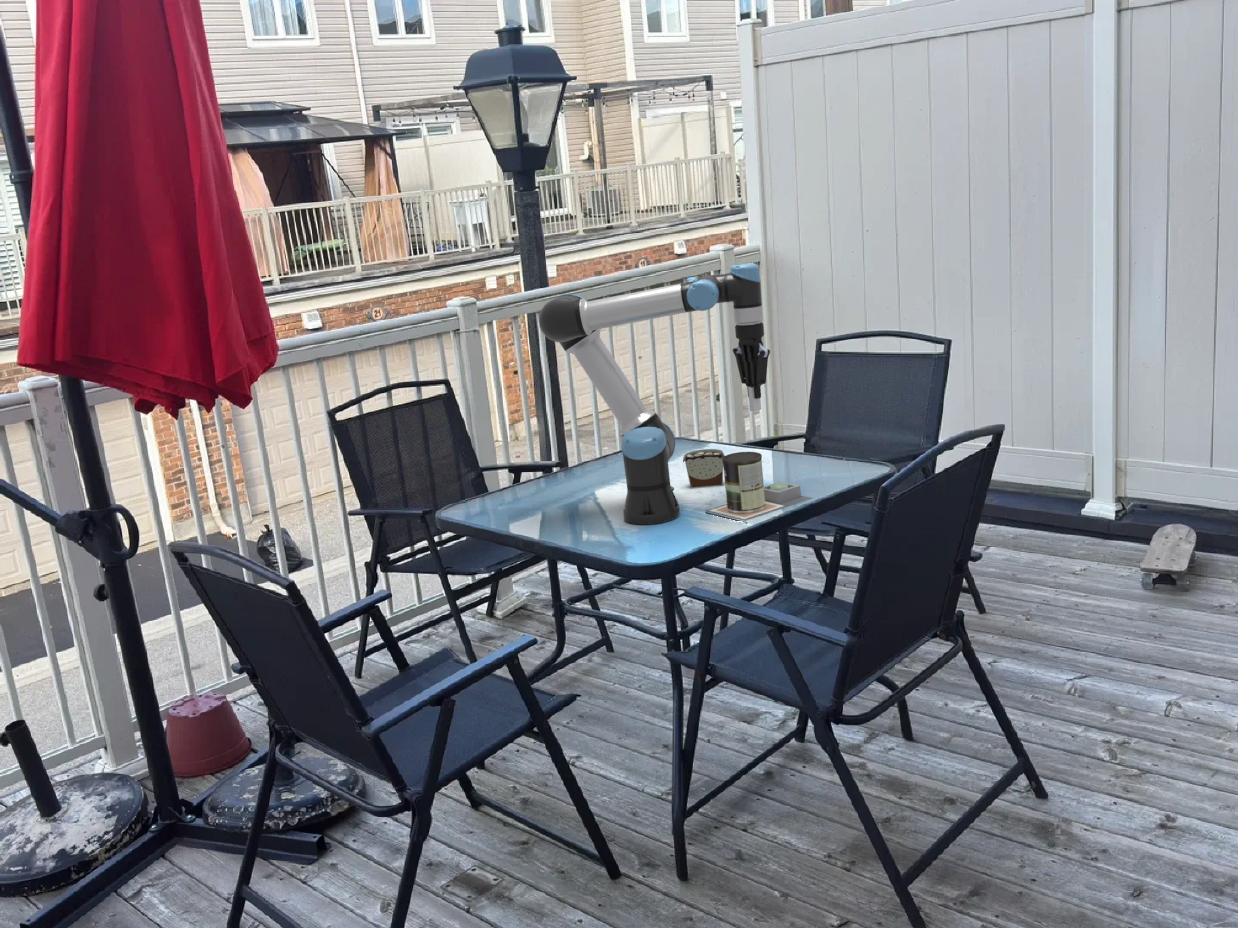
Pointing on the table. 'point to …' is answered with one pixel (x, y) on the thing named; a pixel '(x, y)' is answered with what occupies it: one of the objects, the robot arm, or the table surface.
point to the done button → (778, 486)
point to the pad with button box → (766, 503)
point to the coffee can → (744, 482)
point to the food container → (704, 467)
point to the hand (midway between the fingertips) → (755, 409)
